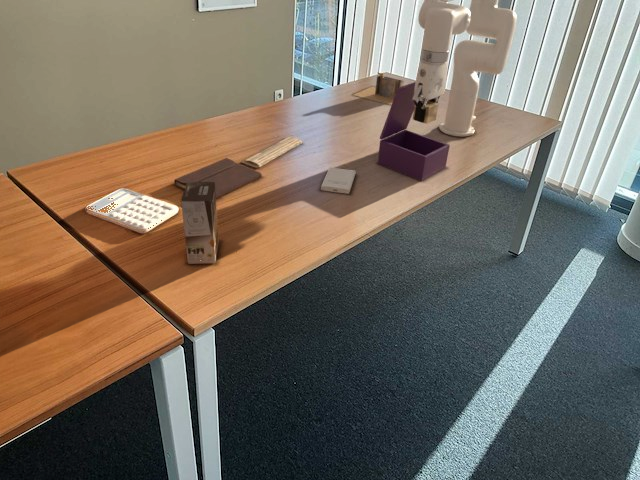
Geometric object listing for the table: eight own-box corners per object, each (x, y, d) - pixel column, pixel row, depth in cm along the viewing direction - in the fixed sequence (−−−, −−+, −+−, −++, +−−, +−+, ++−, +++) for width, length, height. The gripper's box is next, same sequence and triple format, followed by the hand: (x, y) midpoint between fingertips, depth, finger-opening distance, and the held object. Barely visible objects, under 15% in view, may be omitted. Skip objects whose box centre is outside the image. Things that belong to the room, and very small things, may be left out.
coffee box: (216, 263, 119) (211, 201, 110) (187, 264, 118) (180, 201, 109) (219, 241, 126) (215, 181, 118) (192, 241, 126) (185, 181, 117)
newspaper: (259, 169, 160) (259, 163, 159) (241, 163, 163) (240, 157, 162) (302, 144, 177) (302, 139, 176) (285, 139, 180) (285, 134, 179)
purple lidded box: (445, 167, 167) (449, 144, 163) (421, 181, 158) (425, 157, 154) (402, 151, 176) (405, 129, 172) (377, 163, 167) (380, 140, 163)
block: (421, 115, 160) (424, 99, 158) (435, 120, 158) (438, 103, 155) (412, 119, 157) (414, 102, 154) (426, 123, 154) (429, 107, 152)
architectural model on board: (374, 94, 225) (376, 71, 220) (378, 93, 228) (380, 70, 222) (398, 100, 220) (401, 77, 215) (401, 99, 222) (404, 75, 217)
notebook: (261, 178, 155) (261, 171, 154) (211, 202, 142) (210, 195, 141) (225, 163, 163) (225, 157, 162) (174, 184, 149) (173, 178, 148)
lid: (426, 80, 160) (424, 78, 160) (400, 89, 151) (397, 87, 151) (406, 128, 171) (404, 127, 172) (381, 139, 163) (379, 138, 163)
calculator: (143, 235, 127) (142, 228, 126) (84, 213, 135) (82, 206, 134) (180, 211, 137) (180, 205, 136) (123, 192, 145) (122, 186, 144)
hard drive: (355, 175, 160) (349, 194, 149) (328, 172, 161) (320, 190, 151) (355, 170, 159) (349, 189, 148) (329, 167, 160) (321, 185, 150)
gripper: (429, 63, 140) (418, 129, 150) (461, 54, 151) (450, 115, 161) (405, 58, 144) (397, 122, 154) (438, 49, 155) (429, 109, 165)
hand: (424, 118), depth 157 cm, fingers closed on block, 5 cm apart
